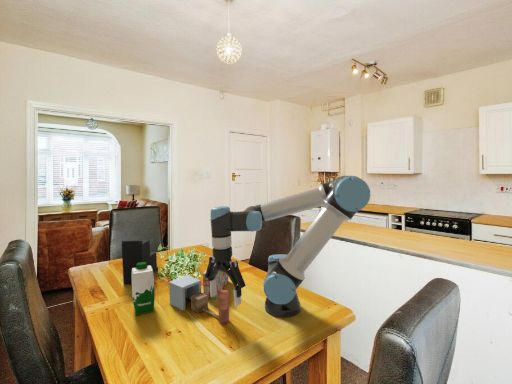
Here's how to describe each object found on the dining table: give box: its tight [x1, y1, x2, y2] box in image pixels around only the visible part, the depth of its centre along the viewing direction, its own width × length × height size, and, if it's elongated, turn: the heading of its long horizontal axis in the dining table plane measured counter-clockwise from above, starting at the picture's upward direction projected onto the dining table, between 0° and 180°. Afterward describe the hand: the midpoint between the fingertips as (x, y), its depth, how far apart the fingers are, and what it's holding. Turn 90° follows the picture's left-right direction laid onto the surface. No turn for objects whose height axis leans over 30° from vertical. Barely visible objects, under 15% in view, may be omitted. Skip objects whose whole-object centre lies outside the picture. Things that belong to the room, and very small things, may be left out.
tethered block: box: [190, 289, 230, 325], centre depth 114 cm, size 20×5×12 cm, turn 49°
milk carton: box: [131, 262, 156, 316], centre depth 118 cm, size 9×9×20 cm
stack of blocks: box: [202, 264, 229, 300], centre depth 139 cm, size 21×6×12 cm, turn 170°
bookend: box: [121, 239, 159, 285], centre depth 158 cm, size 23×11×24 cm, turn 0°
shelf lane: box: [168, 275, 202, 312], centre depth 124 cm, size 10×10×10 cm
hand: (225, 300), depth 108 cm, fingers open, 13 cm apart
